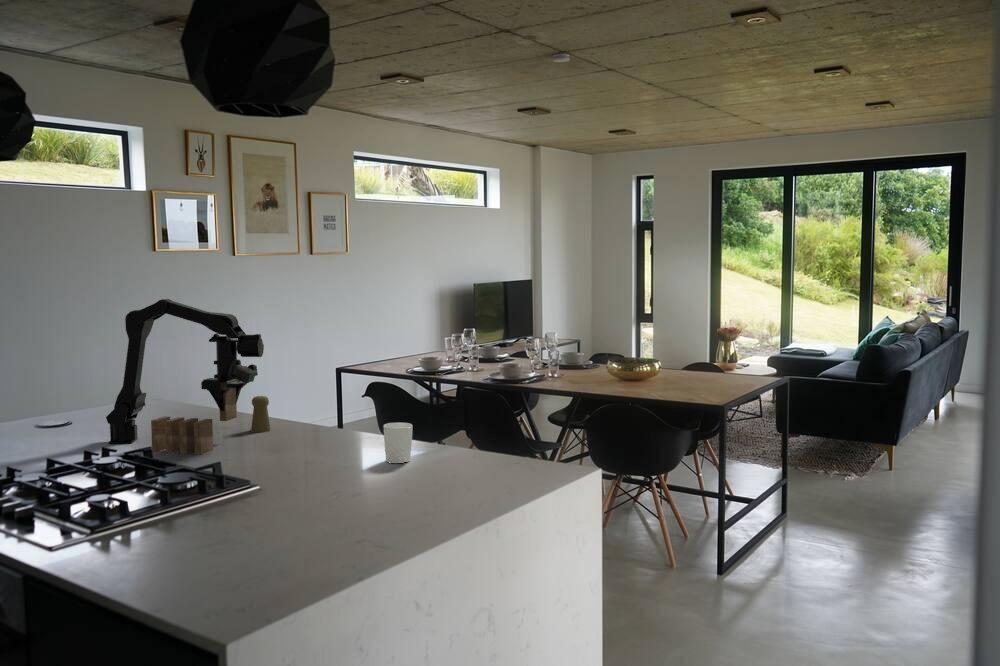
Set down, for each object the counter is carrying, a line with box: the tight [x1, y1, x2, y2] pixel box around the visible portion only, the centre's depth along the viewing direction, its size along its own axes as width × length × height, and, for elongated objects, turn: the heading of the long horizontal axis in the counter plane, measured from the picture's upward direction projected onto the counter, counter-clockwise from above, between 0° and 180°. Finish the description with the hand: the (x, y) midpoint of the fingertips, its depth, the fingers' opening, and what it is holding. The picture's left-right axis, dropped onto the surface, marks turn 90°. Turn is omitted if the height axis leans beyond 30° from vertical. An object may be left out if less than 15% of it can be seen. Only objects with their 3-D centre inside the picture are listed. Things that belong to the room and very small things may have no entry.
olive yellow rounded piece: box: [250, 395, 271, 433], centre depth 255 cm, size 6×6×11 cm
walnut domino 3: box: [179, 417, 199, 455], centre depth 227 cm, size 2×6×9 cm, turn 168°
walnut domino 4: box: [194, 418, 214, 456], centre depth 226 cm, size 2×6×9 cm, turn 168°
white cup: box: [383, 422, 413, 464], centre depth 219 cm, size 8×8×10 cm
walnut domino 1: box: [150, 415, 171, 453], centre depth 229 cm, size 2×6×9 cm, turn 168°
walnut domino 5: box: [219, 388, 238, 422], centre depth 238 cm, size 2×6×9 cm, turn 168°
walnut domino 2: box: [165, 416, 185, 454], centre depth 228 cm, size 2×6×9 cm, turn 168°
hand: (228, 408), depth 238 cm, fingers closed on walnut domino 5, 6 cm apart
